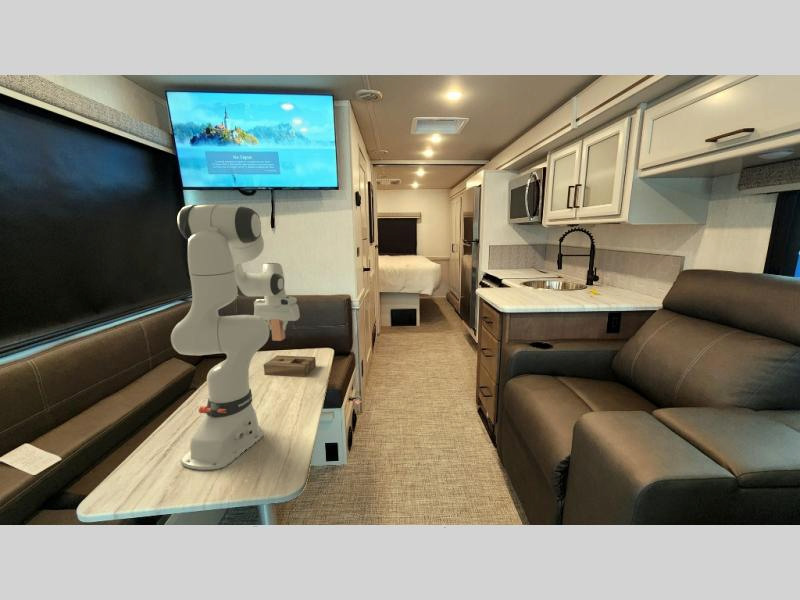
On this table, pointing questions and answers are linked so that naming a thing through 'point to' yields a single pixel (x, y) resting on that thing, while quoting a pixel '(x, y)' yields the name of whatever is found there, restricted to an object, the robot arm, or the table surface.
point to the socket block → (290, 366)
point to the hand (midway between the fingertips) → (278, 329)
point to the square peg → (277, 330)
